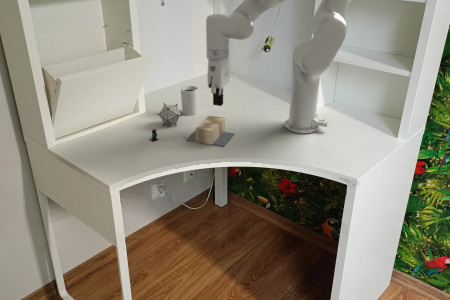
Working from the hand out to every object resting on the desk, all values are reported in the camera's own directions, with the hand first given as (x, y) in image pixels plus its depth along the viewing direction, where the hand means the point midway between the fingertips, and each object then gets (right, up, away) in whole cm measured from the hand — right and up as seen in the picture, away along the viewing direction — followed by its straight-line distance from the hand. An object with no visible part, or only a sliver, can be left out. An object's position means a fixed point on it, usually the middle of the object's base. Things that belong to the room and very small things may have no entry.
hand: (218, 104), depth 154 cm
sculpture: (-22, -13, -3) cm, 26 cm away
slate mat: (-3, -12, -2) cm, 12 cm away
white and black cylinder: (-11, -1, +18) cm, 22 cm away
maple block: (0, -6, +2) cm, 7 cm away
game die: (-18, -7, +8) cm, 21 cm away
